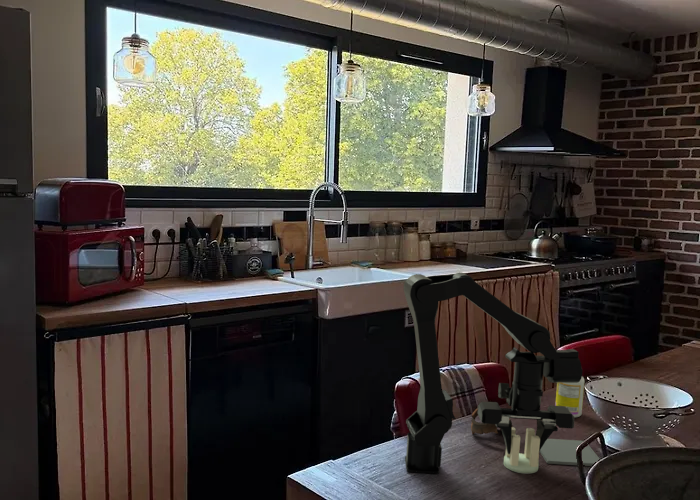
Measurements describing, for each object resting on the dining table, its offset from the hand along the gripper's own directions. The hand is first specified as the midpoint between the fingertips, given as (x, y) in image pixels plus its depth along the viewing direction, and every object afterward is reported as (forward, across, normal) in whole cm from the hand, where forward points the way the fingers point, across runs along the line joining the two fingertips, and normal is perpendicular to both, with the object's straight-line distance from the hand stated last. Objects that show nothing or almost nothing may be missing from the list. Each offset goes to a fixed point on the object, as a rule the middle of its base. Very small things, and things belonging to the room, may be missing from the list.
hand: (521, 454), depth 133 cm
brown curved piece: (+3, +3, -16) cm, 17 cm away
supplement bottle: (+3, -20, -33) cm, 39 cm away
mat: (+3, -12, -8) cm, 15 cm away
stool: (+3, 0, 0) cm, 3 cm away
